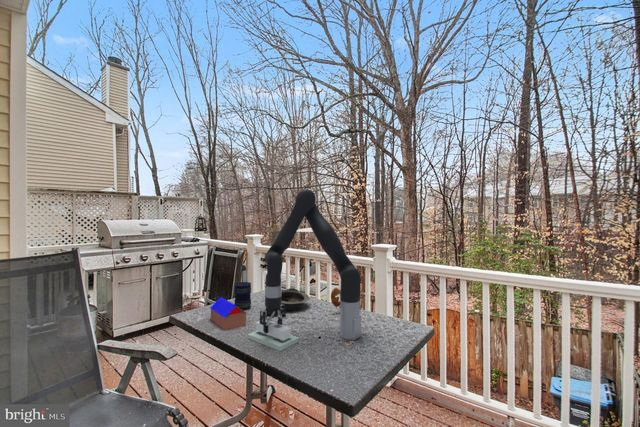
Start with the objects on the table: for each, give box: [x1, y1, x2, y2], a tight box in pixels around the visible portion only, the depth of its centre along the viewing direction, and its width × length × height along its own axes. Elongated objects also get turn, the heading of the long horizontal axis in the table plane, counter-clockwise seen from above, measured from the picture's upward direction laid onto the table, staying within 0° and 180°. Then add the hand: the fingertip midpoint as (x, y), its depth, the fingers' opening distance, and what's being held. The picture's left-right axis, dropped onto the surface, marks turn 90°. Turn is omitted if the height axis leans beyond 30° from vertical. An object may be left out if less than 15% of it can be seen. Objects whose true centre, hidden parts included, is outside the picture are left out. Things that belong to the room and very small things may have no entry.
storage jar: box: [233, 281, 252, 312], centre depth 191 cm, size 10×10×15 cm
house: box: [209, 296, 247, 331], centre depth 167 cm, size 12×20×12 cm, turn 39°
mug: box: [330, 287, 341, 308], centre depth 182 cm, size 15×8×15 cm, turn 84°
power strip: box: [255, 320, 292, 343], centre depth 145 cm, size 18×5×7 cm, turn 52°
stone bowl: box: [281, 288, 310, 311], centre depth 194 cm, size 25×25×9 cm
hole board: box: [247, 330, 300, 352], centre depth 145 cm, size 21×12×2 cm, turn 52°
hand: (273, 330), depth 145 cm, fingers open, 8 cm apart
